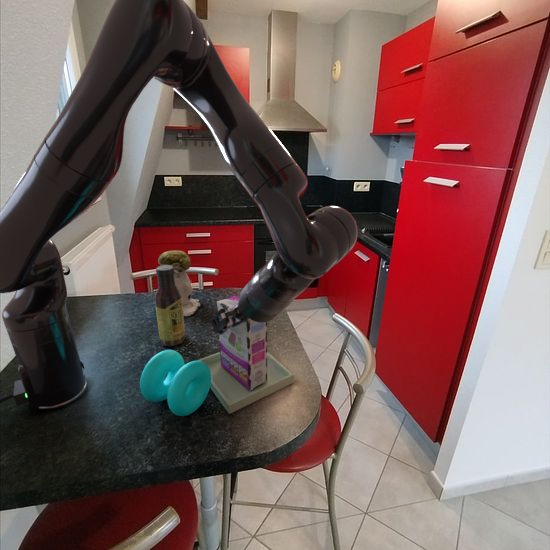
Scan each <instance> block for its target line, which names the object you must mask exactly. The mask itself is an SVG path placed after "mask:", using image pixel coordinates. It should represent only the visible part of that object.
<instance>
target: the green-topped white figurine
mask: <svg viewBox="0 0 550 550" xmlns="http://www.w3.org/2000/svg"><path fill="white" fill-rule="evenodd" d="M157 263H158V264H159V266H163V265H171V266H173V267H174V281H175V285H176V287H177V289H178V291H179V293H180V295H181V297H182V307H183V316H184V317H190V316H192V315H194V314H195V312H196V311H199V310H200V309H199V308H198V307H201V302H199V301H200V300H199V299H195V298H194V299H193V298H191V297H192V294H193V292H194V288H193V286H192V282H193V281H192V280H190V278H189V275H188V273H187V272H186V271H188V270H189V269H190V268H191V258H190V257H189V255H188V254H187V253H186V252H185V251H183V250H177V249H175V250H168V251H164V252H162V253H161V254H159V257H158V259H157Z"/></svg>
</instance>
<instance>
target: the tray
mask: <svg viewBox="0 0 550 550" xmlns="http://www.w3.org/2000/svg"><path fill="white" fill-rule="evenodd" d="M196 361H202V362H204V363H205V364H207V366H208V367H209V369H210V372H211V385H210V390H211V391H212V393H213V395H215V396H216V398H217V399H218V401H219V402H220V404H221V405H222V406H223V408H224V409H225V410H226V412H227V413H228V414H229V415H230V414H232V413H234V412H237V411H239V410H241V409H242V408H245V407H246V406H249V405H250V404H253V403H255V402H257V401H259V400H260V399H263V398H265V397H267V396H269V395H271V394H273V393H275V392H278V391H279V390H281V389H284V388H285V387H287V386H289V385H291V384H293V383H294V382H295V381H294V377H295V375H294V374H293V373H292V372H291V371H290V370H289V369H288V368H287V367H285V366H284V364H282V363H281V362H280V361H279V360H278V359H276V357H274V356H273V355H272V354H271V353H270V352H268V351H267V382H266V383H265V384H263V385H261V386H259V387H257V388H255V389H254V390H252V391H249V390H248V389H247V388H245V387H244V386H243V385H242V384H241V383H240V382H239V381H238V380H236V379H235V378H234V377H233V376H232V375H231V374H229V373H228V372H227V371H226V370H225V369H224V368H223V367H222V366H221V357H220V351H219V352H216V353H213V354H211V355H208V356H205V357H202V358H200V359H197V360H196Z"/></svg>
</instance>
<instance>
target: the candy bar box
mask: <svg viewBox="0 0 550 550" xmlns="http://www.w3.org/2000/svg"><path fill="white" fill-rule="evenodd" d="M239 297H240V296H237V295H232V296H228V297H225V298H223V299H220V300H217V301H216V310H217V312H218V311H219V310H220V309H224V308H225V310H226V311H227V310H229V309H231V308H232V307H234V306H236V305H237V304H238V303H239ZM236 321H237V322H239V321H241V320H239V319H236ZM229 324H230V323H229ZM227 325H228V324H227ZM218 340H219V341H218V342H219V352H220V357H221V366H222V367H223V368H224V369H225V370H226V371H227V372H228V373H229V374H231V375H232V376H233V377H234V378H235V379H236V380H238V381H239V382H240V383H241V384H242V385H243V386H244V387H245V388H247V389H248V390H249V391H252V390H254V389H255V388H257V387H259V386H261V385H263V384H265V383H266V382H267V352H268V322H263V323H261V322H255V321H253V320H252V321H250V322H245V323H244V324H242V325H240V326H238V327H231V328H229V329H228V330H227V331H226V332H225V333H224V334H222V335H219V334H218Z"/></svg>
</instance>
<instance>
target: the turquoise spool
mask: <svg viewBox="0 0 550 550" xmlns="http://www.w3.org/2000/svg"><path fill="white" fill-rule="evenodd" d="M210 385H211V372H210V369H209V367H208V366H207V364H205V363H204V362H202V361H197V360H192V361H189V362H187V363H185V360H184V358H183V355H181V354H180V352H178V351H177V350H173V349H164V350H162V351H159V352H157V353H156V354H155V355H153V356H152V357H151V358H150V359H149V360H148V362H147V363H146V365H145V366H144V368H143V370H142V372H141V376H140V380H139V390H140V393H141V396H142V397H143V398H144V399H145V400H147V401H148V402H152V403H160V402H163V401H165V400H166V402H167V405H168V408H169V410H170V412H171V413H173V414H174V415H175V416H177V417H187V416H189V415H191V414H193V413H195V412H196V411H197V410H198V409H199V408H200V407H201V406H202V405H203V403H204V402H205V401H206V399H207V396H208V394H209V392H210V390H211V388H210Z"/></svg>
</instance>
